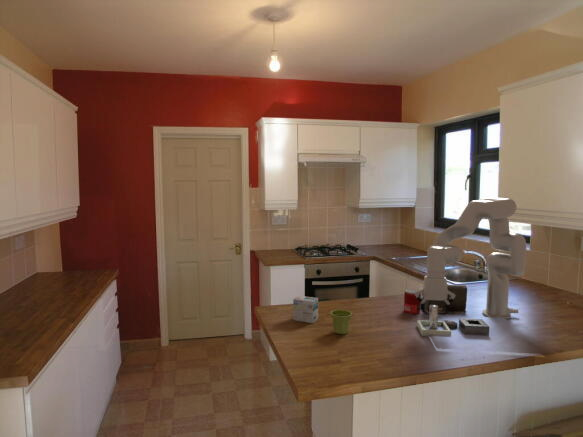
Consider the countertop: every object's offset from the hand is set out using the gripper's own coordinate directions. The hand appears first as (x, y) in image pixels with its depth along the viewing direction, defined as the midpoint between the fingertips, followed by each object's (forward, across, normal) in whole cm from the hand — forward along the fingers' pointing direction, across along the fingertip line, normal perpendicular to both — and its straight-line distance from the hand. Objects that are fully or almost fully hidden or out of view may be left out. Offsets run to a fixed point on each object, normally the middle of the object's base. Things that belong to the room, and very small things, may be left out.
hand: (434, 312), depth 178 cm
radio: (+9, -12, -29) cm, 33 cm away
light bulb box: (+9, +58, -7) cm, 59 cm away
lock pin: (+8, 0, 0) cm, 8 cm away
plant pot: (+9, +41, +6) cm, 43 cm away
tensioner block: (+9, -17, 0) cm, 19 cm away
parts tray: (+9, 0, 0) cm, 9 cm away
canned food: (+9, +5, -26) cm, 28 cm away
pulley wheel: (+9, -8, -5) cm, 13 cm away
